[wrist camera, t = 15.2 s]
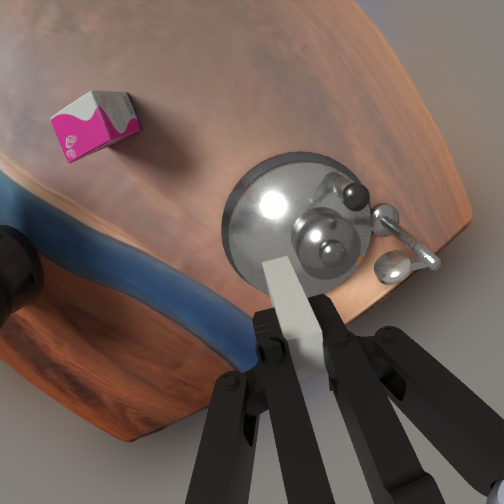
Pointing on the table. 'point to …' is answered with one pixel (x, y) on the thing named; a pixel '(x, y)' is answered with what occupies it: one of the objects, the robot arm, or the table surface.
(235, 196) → the base
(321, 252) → the cover
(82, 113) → the supplement box
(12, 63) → the table surface
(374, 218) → the metal lever handle
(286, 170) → the turntable
